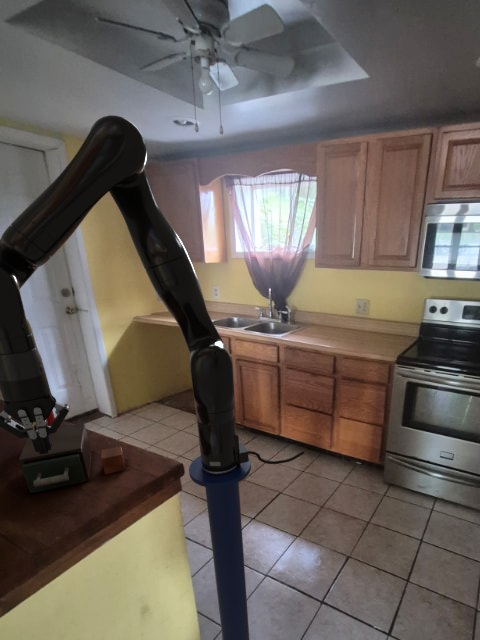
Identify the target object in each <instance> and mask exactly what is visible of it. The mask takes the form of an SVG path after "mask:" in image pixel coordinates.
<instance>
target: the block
mask: <svg viewBox="0 0 480 640" xmlns="http://www.w3.org/2000/svg"><path fill="white" fill-rule="evenodd" d="M100 459H101V463H102V467H103V471H104V475H108V474H109V475H110V474H113V473H118V472H122V471H125V470H126V461H125V456H124V451H123V447H122V445H120V446H114V447H110V448H104V449H101V458H100Z"/></svg>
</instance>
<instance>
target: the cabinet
mask: <svg viewBox="0 0 480 640" xmlns="http://www.w3.org/2000/svg"><path fill="white" fill-rule="evenodd" d="M50 439H51V442H52V447H51V450H49V453H46V454H40V453H39V452H36V451H35V449H34V446H33V443H32V440H31V439H30V438H27V439H26V441H25V444H24V446H23V449H22V451H21V453H20V456H19V459H18V461H19V464H20V468H21V471H22V474H23V476H24V479H25V482H26V485H27V488H28V491H29V492H30V490H29V487H28V484H27V481H26V478H25V475H24V472H23V469H22V465H23V464H27V463H29V462H28V461H33V460H38V459H44V458H49V457H54V456H59V455H65V454H70V453H75V452H78V454H79V457H80V460H81V464H82V468H83V472H84V475H85V482H87V481H90V478H91V477H90V476H91V466H92V465H91V464H92V455H93V451H92V448H91V443H90V439H89V436H88V431H87V428H86V423H78V424H72V425H65V426H59V428H58V429H57V431H56V432H55V433H51V434H50Z"/></svg>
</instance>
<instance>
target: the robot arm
mask: <svg viewBox="0 0 480 640" xmlns="http://www.w3.org/2000/svg"><path fill="white" fill-rule="evenodd" d="M147 149H148V148H147V144H146V142H145V138H144V136H143V134H142V132H141V131H140V129H138V127H137V126H136V125H135V124H133V122H131V121H130V120H129V119H127V118H125V117H123V116H119V115H115V114H111V115H105V116H102V117H100V118H98V119H97V120H96V121H95V122H94V123H93V124H92V126H91V127H90V130H89V132H88V134H87V136H86V137H85V139H84V141H83V143H82V144H81V146H80V147H79V149H78V150H77V152H76V153H75V155H74V156H73V158H72V159H71V160H70V161H69V163H68V164H67V166H66V167H65V168H64V169H63V170H62V171H61V172H60V174H59V175H58V176H57V177H56V178H55V180H53V181H52V183H50V184H49V186H47V187H46V189H44V190H43V191H42V192H41V193H40V194H39V195H38V196H37V197H36V198H35V199H34V200H33V201H32V202H30V204H29V205H28V206H27V207H26V208H25V209H24V210H23V211H22V212H21V213H20V214H19V215H18V216H17V217H16V218H15V219H14V220H13V221H12V222H11V223H10V225H9V226H8V227H7V228H6V229H5V230H4V232H3V233H2V235H1V237H0V393H1V397H2V400H3V402H4V403H3V407H2V409H3V410H2V411H1V412H0V428H2V429H3V430H5V431H7V432H8V433H10V434H12V435H13V436H15V437H17V438H19V439H24V438H27V439H28V438H30V439H31V440H32V443H33V446H34V449H35V451H36V452H39V453H40V454H46V453H49V450H51V447H52V442H51V439H50V434H51V433H55V432H56V431H57V429H58V428H59V427H61V425H62V423H63V422H64V420H65V418H66V417H67V416H68V414H69V412H70V408H71V405H70V404H68V403H65V404H62V403H60V402H57V399H56V397H55V396H53V394H52V392H51V388H50V383H49V381H48V376H47V373H46V369H45V366H44V362H43V358H42V356H41V353H40V351H39V349H38V346H37V342H36V339H35V336H34V332H33V329H32V326H31V323H30V321H29V319H27V315H26V312H25V307H24V303H23V299H22V295H21V288H22V287H23V286H24V285H25V284H26V282H28V280H29V279H30V278H31V277H32V276H33V275H34V274H35V272H36V271H37V270H38V269H39V268H41V267H42V266H44V265H46V264H47V262H49V260H50V259H52V257H54V255H55V254H56V253H57V252H58V251H59V250H60V249H61V248H62V247H63V246H64V245H65V244H66V243H67V241H69V239H70V238H71V237H72V236H73V234H74V233H75V232H76V231H77V229H78V228H79V226H80V225H81V224H82V222H83V221H84V220H85V218H86V217H87V216H88V214H89V213H90V212H91V210H92V209H93V208H94V207H95V206H96V204H97V203H99V201H100V200H102V198H104V197H105V195H107V194H108V193H109V194H110V196H111V197H112V200H113V201H114V203H115V205H116V206H117V209H118V210H119V212H120V214H121V216H122V218H123V220H124V223H125V225H126V227H127V230H128V233H129V235H130V238H131V241H132V243H133V245H134V248H135V250H136V253H137V255H138V257H139V260H140V262H141V264H142V266H143V269H144V271H145V274H146V275H147V278H148V279H149V281H150V283H151V285H152V287H153V289H154V291H155V293H156V294H157V296H158V298H159V299H160V301H161V302H162V303H163V305H164V306H165V308H166V309H167V311H168V313H170V315H171V316H172V318H173V319H174V320H175V322H176V323H177V326H178V327H179V329H180V332H181V334H182V336H183V339H184V341H185V344H186V347H187V350H188V354H189V370H190V378H191V387H192V394H193V400H194V406H195V417H196V425H197V434H198V442H199V450H200V451H199V452H200V456H201V463H202V470H203V471H204V472H205V473H207V474H209V475H215V476H219V475H225V474H229V473H231V472H233V471H234V470H235V469H236V468H240V467H241V466H240V464H241V463H245V462H249V459H250V458H249V455H254V456H256V457H257V460H258V461H260V462H261V463H264V464H266V465H267V464H268V465H279V464H280V465H281V464H284V463H289V462H290V463H291V462H292V461H294V460H296V459H298V458H299V457H301V456H302V455H304V454H305V451H304V450H303V451H301V452H299V453H297V454H296V455H294V456H291V457H289V458H286V459H281V460H273V461H272V460H267V459H264V458H262V457H261V455H260V454H259V453H258V452H256V451H252V450H248V449H247V448H246V446H245V444H244V442H240V437H239V434H238V431H237V428H236V427H237V426H236V425H237V424H236V412H235V385H234V384H235V383H234V369H233V359H232V356H231V353H230V351H229V348H228V346H227V344H226V343H225V342H224V340H223V338H222V337H221V335H220V333H219V332H218V330H217V327H216V326H215V324H214V322H213V319H212V318H211V316H210V312H209V310H208V308H207V304H206V301H205V297H204V294H203V291H202V290H203V289H202V288H201V285H200V281H199V279H198V275H197V273H196V271H195V269H194V266H193V264H192V261H191V259H190V257H189V254H188V252H187V250H186V248H185V245H184V244H183V241H182V240H181V239H180V237H179V236H178V234H177V232H176V231H175V229H174V228H173V226H172V225H171V224H170V222H169V220H168V219H167V218H166V216H165V215H164V213H163V212H162V210H161V208H160V206H159V204H158V201H157V200H156V198H155V195H154V192H153V190H152V187H151V184H150V182H149V178H148V175H147V172H146V169H145V166H146V164H147V160H148V159H147V158H148V151H147ZM52 410H53V411H54V410H55V411H54V412H55V415H56V416H55V419H54V421H53V422H52V424H51V425H50V426H48V424H47V418H48V417H49V415H50V414H51V412H52ZM12 418H13V419H15V420H16V421H15V420H13V419H12ZM17 421H18V422H17ZM20 423H22V424H20ZM36 423H37V425H36Z"/></svg>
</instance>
